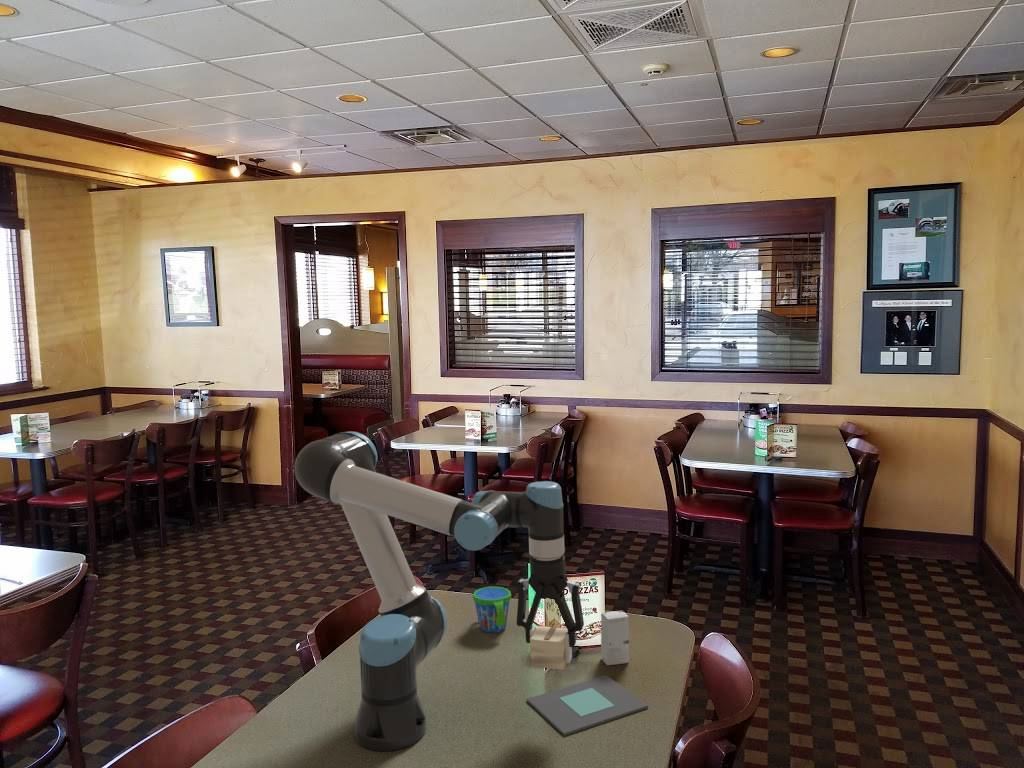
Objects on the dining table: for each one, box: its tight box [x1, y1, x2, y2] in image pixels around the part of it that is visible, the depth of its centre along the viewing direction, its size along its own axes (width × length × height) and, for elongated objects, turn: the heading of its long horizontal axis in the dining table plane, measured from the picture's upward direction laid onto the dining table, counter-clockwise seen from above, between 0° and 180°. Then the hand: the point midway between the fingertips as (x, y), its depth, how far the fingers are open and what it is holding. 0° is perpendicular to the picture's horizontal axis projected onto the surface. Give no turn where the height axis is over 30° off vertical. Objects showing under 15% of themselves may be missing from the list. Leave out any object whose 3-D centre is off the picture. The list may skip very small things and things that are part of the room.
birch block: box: [529, 625, 568, 671], centre depth 161 cm, size 7×7×6 cm
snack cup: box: [472, 586, 512, 633], centre depth 209 cm, size 16×10×10 cm
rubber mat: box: [526, 674, 649, 737], centre depth 169 cm, size 22×16×1 cm
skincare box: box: [600, 610, 630, 666], centre depth 189 cm, size 6×4×12 cm
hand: (551, 658), depth 161 cm, fingers closed on birch block, 7 cm apart
